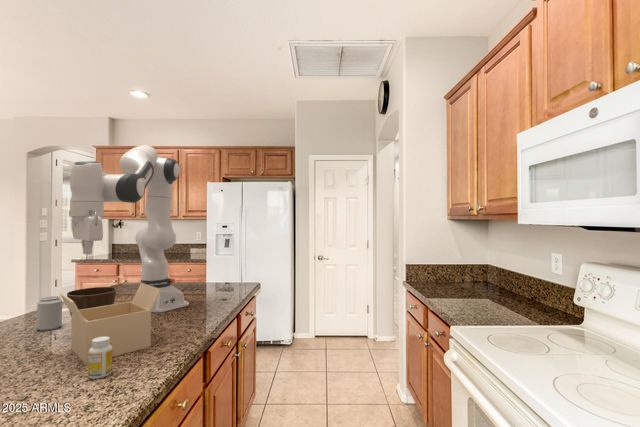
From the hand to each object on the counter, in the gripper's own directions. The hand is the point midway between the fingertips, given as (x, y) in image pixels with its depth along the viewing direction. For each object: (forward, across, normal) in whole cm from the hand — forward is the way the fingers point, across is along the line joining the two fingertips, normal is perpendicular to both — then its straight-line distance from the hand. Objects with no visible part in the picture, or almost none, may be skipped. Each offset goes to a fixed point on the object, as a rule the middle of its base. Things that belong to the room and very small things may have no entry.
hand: (87, 254), depth 106 cm
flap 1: (+15, -2, +4) cm, 16 cm away
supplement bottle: (+31, -22, +2) cm, 38 cm away
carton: (+31, -2, -6) cm, 32 cm away
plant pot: (+31, +17, -5) cm, 36 cm away
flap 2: (+16, -2, -17) cm, 23 cm away
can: (+31, +38, +4) cm, 49 cm away
